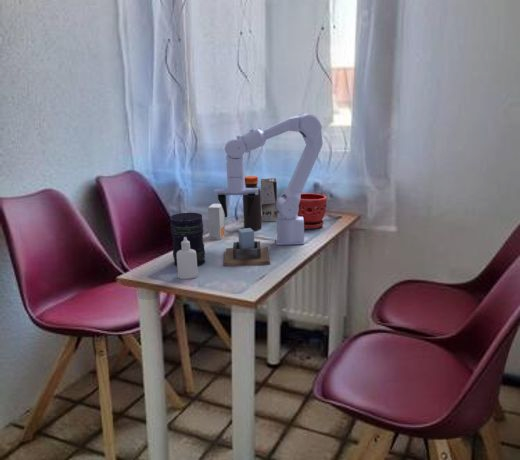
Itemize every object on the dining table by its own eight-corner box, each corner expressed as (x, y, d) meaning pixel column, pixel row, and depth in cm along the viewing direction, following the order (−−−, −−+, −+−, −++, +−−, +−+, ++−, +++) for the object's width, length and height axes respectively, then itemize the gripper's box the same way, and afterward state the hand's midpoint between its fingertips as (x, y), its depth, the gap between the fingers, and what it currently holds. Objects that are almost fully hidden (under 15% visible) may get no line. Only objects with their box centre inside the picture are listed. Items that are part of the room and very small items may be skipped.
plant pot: (320, 232, 177) (320, 200, 173) (287, 228, 182) (286, 198, 179) (330, 223, 188) (331, 193, 185) (299, 220, 193) (299, 191, 190)
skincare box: (220, 240, 171) (219, 207, 167) (209, 239, 172) (207, 207, 168) (225, 235, 177) (223, 203, 173) (214, 234, 177) (212, 203, 174)
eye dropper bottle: (183, 273, 140) (180, 234, 137) (200, 275, 139) (197, 235, 135) (175, 278, 137) (172, 238, 133) (193, 280, 135) (190, 240, 131)
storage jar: (177, 257, 154) (173, 212, 150) (207, 257, 154) (204, 212, 149) (170, 268, 144) (166, 221, 140) (203, 268, 144) (199, 220, 140)
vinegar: (263, 226, 186) (261, 175, 181) (260, 231, 180) (258, 178, 174) (246, 225, 188) (244, 175, 182) (242, 230, 181) (240, 178, 176)
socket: (268, 249, 159) (268, 238, 158) (270, 264, 145) (269, 251, 144) (226, 251, 159) (225, 239, 158) (224, 265, 145) (223, 253, 144)
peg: (251, 251, 154) (250, 227, 152) (254, 255, 151) (253, 231, 148) (239, 253, 153) (238, 229, 151) (242, 256, 150) (241, 232, 147)
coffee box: (277, 221, 193) (276, 182, 188) (261, 221, 193) (260, 182, 188) (277, 215, 202) (276, 177, 197) (261, 216, 202) (260, 178, 197)
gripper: (257, 173, 162) (258, 212, 166) (214, 174, 162) (216, 213, 165) (257, 177, 155) (259, 217, 159) (213, 178, 155) (215, 218, 159)
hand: (237, 215), depth 162 cm, fingers open, 7 cm apart
